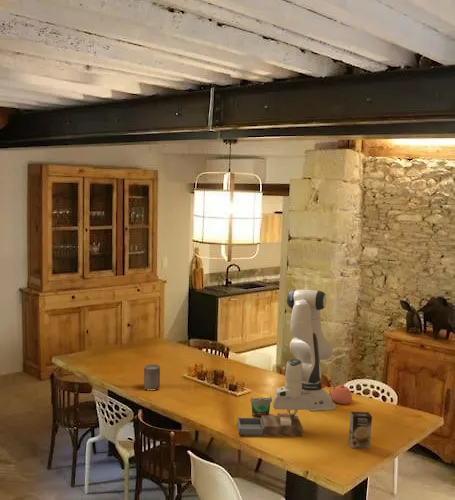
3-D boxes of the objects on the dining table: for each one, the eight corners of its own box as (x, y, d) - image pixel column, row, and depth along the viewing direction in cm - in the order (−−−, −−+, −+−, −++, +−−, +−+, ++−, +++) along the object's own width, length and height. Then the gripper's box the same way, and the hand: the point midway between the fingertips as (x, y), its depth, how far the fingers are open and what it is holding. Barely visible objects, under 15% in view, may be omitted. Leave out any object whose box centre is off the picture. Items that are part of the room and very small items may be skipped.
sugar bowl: (351, 406, 344) (352, 389, 343) (327, 404, 347) (328, 387, 346) (351, 399, 356) (352, 382, 355) (328, 397, 359) (328, 380, 358)
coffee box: (351, 448, 285) (353, 416, 284) (348, 443, 291) (349, 411, 290) (370, 448, 285) (372, 416, 284) (366, 443, 292) (368, 411, 290)
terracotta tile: (287, 416, 310) (287, 412, 310) (288, 420, 305) (289, 415, 305) (277, 416, 310) (278, 411, 310) (279, 420, 305) (279, 415, 305)
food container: (253, 419, 319) (253, 401, 318) (249, 415, 325) (250, 397, 324) (274, 417, 322) (275, 399, 321) (270, 413, 328) (271, 395, 327)
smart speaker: (161, 386, 369) (161, 362, 368) (157, 391, 359) (158, 367, 358) (145, 385, 370) (146, 362, 369) (142, 390, 360) (142, 366, 359)
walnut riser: (296, 425, 313) (297, 415, 312) (302, 436, 298) (302, 426, 297) (260, 424, 312) (261, 415, 311) (264, 436, 297) (264, 426, 296)
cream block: (289, 421, 303) (289, 416, 303) (291, 425, 298) (291, 420, 298) (279, 421, 303) (279, 416, 303) (281, 425, 298) (281, 420, 298)
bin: (260, 424, 312) (261, 417, 311) (264, 436, 297) (264, 429, 296) (237, 424, 311) (237, 417, 310) (239, 435, 296) (239, 428, 296)
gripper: (311, 389, 310) (310, 415, 312) (272, 389, 309) (271, 414, 310) (314, 393, 304) (313, 419, 305) (274, 393, 303) (273, 419, 304)
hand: (292, 417), depth 308 cm, fingers closed
